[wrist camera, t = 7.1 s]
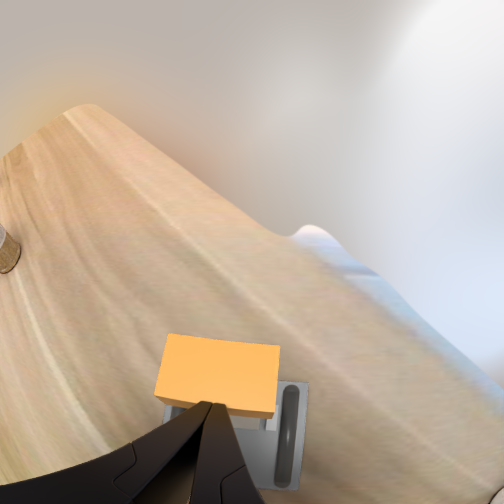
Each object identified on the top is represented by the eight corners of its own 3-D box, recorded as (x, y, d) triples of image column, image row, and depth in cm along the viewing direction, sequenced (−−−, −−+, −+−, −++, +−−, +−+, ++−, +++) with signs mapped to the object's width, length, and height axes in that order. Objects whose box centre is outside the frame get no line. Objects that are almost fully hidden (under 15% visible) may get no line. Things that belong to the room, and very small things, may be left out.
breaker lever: (264, 435, 15) (274, 412, 8) (197, 426, 15) (153, 395, 9) (268, 398, 17) (280, 345, 10) (203, 391, 17) (168, 333, 10)
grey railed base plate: (293, 481, 16) (301, 495, 12) (169, 466, 17) (148, 474, 13) (302, 387, 20) (312, 379, 16) (182, 374, 21) (164, 363, 17)
